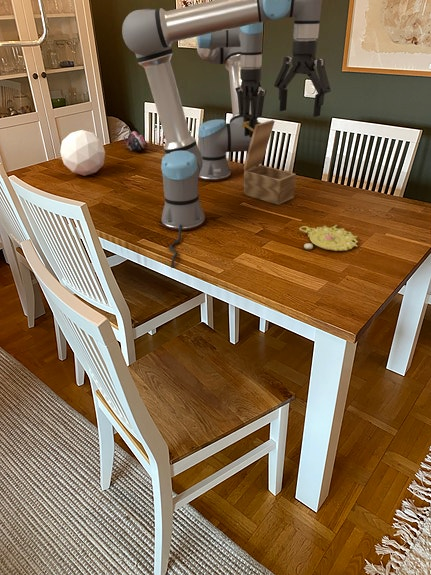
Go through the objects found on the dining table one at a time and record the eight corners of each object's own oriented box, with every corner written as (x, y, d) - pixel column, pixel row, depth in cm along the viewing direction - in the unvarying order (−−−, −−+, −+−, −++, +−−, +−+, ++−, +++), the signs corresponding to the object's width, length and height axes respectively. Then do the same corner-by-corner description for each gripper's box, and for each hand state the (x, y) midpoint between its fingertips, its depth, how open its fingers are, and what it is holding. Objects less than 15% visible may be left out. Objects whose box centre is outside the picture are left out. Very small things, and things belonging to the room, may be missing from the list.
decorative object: (343, 255, 128) (285, 234, 139) (342, 262, 130) (284, 241, 140) (372, 230, 142) (317, 213, 152) (371, 237, 143) (316, 219, 153)
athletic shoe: (136, 131, 245) (115, 136, 241) (146, 124, 225) (123, 129, 221) (142, 152, 248) (122, 157, 244) (152, 146, 228) (130, 152, 224)
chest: (294, 197, 173) (295, 173, 168) (278, 205, 167) (279, 180, 162) (259, 187, 183) (260, 164, 178) (243, 194, 177) (244, 170, 172)
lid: (274, 121, 165) (259, 111, 168) (257, 126, 159) (241, 115, 162) (261, 164, 177) (247, 154, 181) (245, 170, 172) (230, 159, 175)
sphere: (92, 190, 205) (77, 164, 186) (61, 170, 209) (44, 142, 190) (118, 162, 209) (107, 134, 191) (87, 142, 214) (73, 113, 195)
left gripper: (348, 40, 130) (338, 116, 141) (280, 37, 145) (276, 106, 156) (334, 42, 125) (325, 120, 137) (265, 39, 140) (262, 109, 152)
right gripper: (274, 68, 155) (271, 137, 167) (242, 65, 164) (242, 131, 176) (260, 70, 150) (258, 141, 163) (228, 67, 159) (229, 134, 172)
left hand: (299, 113), depth 147 cm, fingers open, 13 cm apart
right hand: (249, 135), depth 170 cm, fingers closed on lid, 2 cm apart
